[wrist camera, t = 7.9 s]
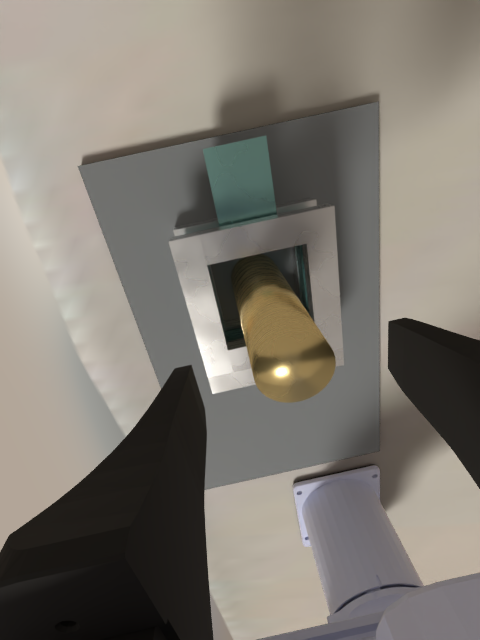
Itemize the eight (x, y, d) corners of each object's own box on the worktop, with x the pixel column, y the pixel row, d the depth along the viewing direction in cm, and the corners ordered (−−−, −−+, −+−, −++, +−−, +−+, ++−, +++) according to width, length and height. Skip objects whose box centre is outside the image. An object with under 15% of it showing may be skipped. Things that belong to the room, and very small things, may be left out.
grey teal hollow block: (323, 334, 23) (344, 364, 20) (211, 359, 23) (212, 393, 20) (304, 128, 17) (329, 120, 14) (156, 160, 17) (144, 160, 14)
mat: (376, 446, 29) (379, 451, 29) (199, 485, 29) (199, 491, 29) (374, 102, 18) (378, 101, 17) (80, 165, 18) (77, 166, 17)
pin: (281, 293, 21) (337, 392, 13) (236, 303, 21) (260, 409, 13) (275, 248, 20) (333, 324, 11) (226, 259, 20) (246, 343, 11)
